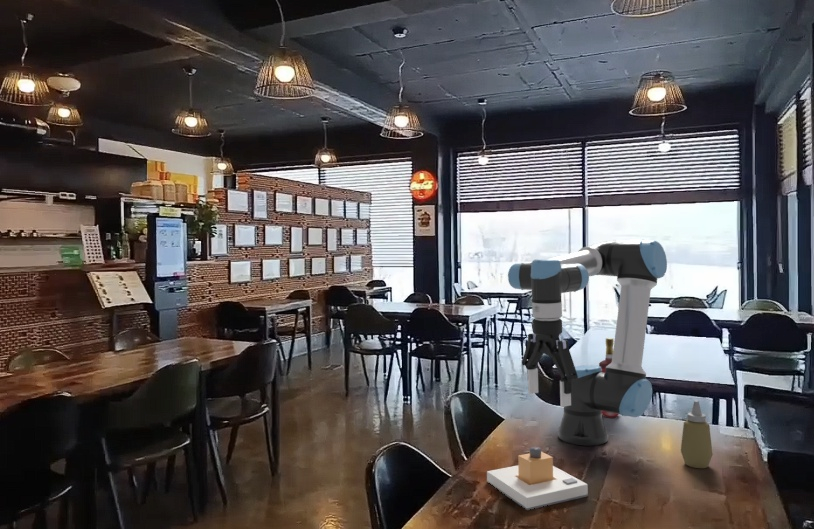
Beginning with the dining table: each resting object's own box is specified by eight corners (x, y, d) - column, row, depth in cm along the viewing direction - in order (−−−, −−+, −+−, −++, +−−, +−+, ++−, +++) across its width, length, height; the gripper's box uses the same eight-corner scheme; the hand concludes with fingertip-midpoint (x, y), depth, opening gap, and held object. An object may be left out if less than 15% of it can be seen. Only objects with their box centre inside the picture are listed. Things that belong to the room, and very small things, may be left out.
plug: (518, 486, 152) (518, 447, 151) (540, 481, 154) (540, 443, 154) (530, 493, 147) (529, 453, 147) (553, 488, 150) (552, 449, 150)
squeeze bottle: (716, 471, 160) (716, 406, 160) (684, 469, 162) (684, 404, 161) (707, 460, 168) (707, 398, 168) (677, 459, 170) (677, 397, 169)
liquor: (599, 412, 218) (599, 336, 217) (620, 413, 215) (620, 337, 214) (598, 417, 211) (598, 340, 210) (620, 419, 208) (620, 340, 207)
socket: (487, 482, 155) (486, 469, 155) (543, 471, 163) (543, 458, 162) (527, 510, 139) (526, 496, 139) (587, 496, 146) (587, 482, 146)
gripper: (507, 314, 163) (510, 390, 164) (566, 326, 140) (568, 414, 141) (530, 311, 166) (532, 386, 167) (591, 323, 143) (593, 409, 144)
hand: (548, 399), depth 154 cm, fingers open, 13 cm apart
